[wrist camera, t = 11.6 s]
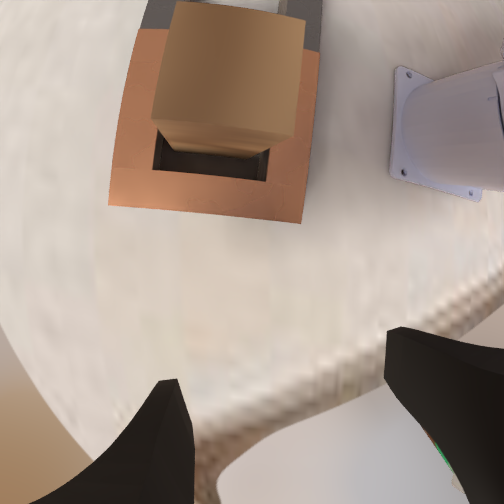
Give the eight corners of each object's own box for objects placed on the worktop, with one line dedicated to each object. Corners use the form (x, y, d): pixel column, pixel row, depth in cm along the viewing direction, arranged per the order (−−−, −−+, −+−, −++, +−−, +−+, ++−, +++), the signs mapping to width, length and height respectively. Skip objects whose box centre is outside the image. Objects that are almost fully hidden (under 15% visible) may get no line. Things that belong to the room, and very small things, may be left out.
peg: (255, 92, 16) (305, 20, 8) (246, 159, 17) (293, 135, 9) (185, 83, 16) (176, 1, 7) (174, 151, 17) (150, 118, 8)
